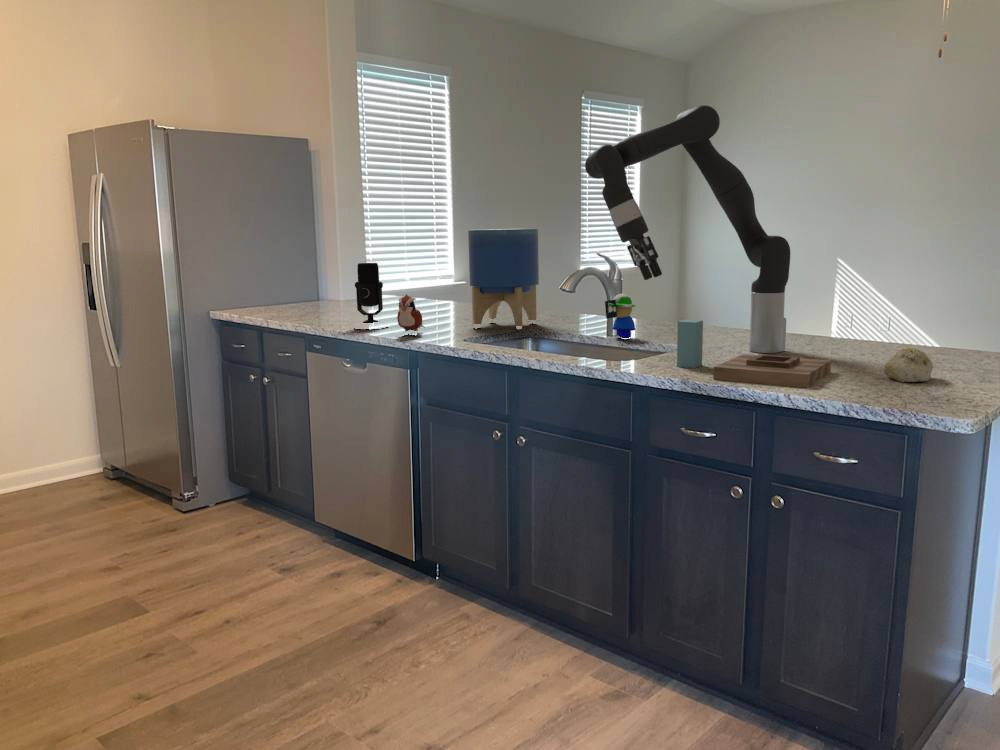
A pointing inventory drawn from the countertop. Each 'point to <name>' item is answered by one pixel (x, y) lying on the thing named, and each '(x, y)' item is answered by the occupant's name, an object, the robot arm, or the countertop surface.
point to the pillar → (689, 343)
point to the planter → (503, 271)
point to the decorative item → (909, 366)
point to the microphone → (369, 289)
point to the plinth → (773, 370)
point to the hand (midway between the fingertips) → (653, 277)
